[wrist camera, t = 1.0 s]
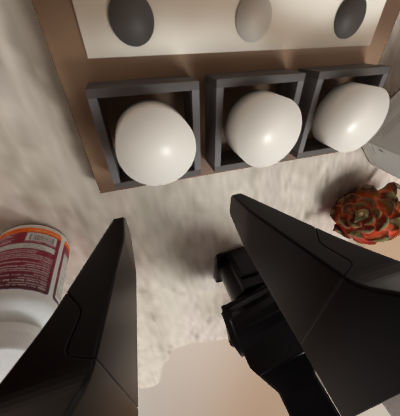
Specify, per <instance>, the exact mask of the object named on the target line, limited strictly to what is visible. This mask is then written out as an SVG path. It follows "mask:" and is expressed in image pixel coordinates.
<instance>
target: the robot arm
mask: <svg viewBox="0 0 400 416" xmlns="http://www.w3.org/2000/svg"><path fill="white" fill-rule="evenodd" d="M230 214H231V217H232V220H233V222H234V224H235V227H236V229H237V231H238V234H239V236H240V238H241V241H242V243H243V245H244V247H245V248H242V249H238V250H234V251H230V252H227V253H223V254H219V255H217V256H216V266H215V281H216V282H217V283H218V282H222V281H223V283H224V285H225V287H226V289H227V292H228V294H229V296H230V298H231V301H232V302H230V303H228V304H226V305H223V306H221V307H222V311H223V312H222V313H221V314H222V316H223V319H224V321H225V324H226V328H227V334H228V339H229V343H230V345H231V346H232V347H235V348H236V350H237V351H238V352H239V354H240V355H241V356H242V357H243V356H245V358H246V360H247V362H248V364H249V366H250V368H251V369H252V370H253V371H254V372H255V373H256V374H257V375H259V376H260V377H261V378H262V379H263V380H264V381H266V382H267V383H268V384H269V385H270V386H271V387H272V388H274V389H275V390H276V391H277V392H278V393H279V394H280V396H281V398H282V401H283V403H284V405H285V407H286V409H287V411H288V413H289V415H290V416H340V414H341V416H356V415H358V414H360V413H362V412H364V411H366V410H368V409H370V408H372V407H374V406H376V405H378V404H380V403H382V404H383V405H384V406H385V408H386V409H387V411H388V412H389V413H390V415H391V416H400V261H397V260H394V259H392V258H389V257H386V256H384V255H381V254H379V253H376V252H373V251H371V250H368V249H366V248H363V247H360V246H358V245H355V244H353V243H350V242H348V241H345V240H343V239H340V238H338V237H336V236H333V235H331V234H329V233H326V232H324V231H322V230H320V229H318V228H316V229H315V227H313V226H311V225H309V224H307V223H304V222H302V221H300V220H298V219H296V218H293V217H291V216H289V215H287V214H285V213H283V212H280V211H278V210H276V209H274V208H272V207H269V206H267V205H265V204H263V203H261V202H258V201H256V200H254V199H252V198H250V197H248V196H245V195H243V194H236V195H232V196H231V203H230ZM67 293H68V294H65V296H64V297H63V299H62V301H61V302H60V304H59V305H58V307H57V308H56V310H55V311H54V313H53V314H52V316H51V317H50V318H49V320H48V321H47V323H46V324H45V325H44V327H43V328H42V329H41V331H40V332H39V334H38V335H37V336H36V338H35V339H34V340H33V342H32V343H31V344H30V345H29V347H28V348H27V349H26V351H25V352H24V353H23V354H22V356H21V357H20V358H19V360H18V361H17V362H16V364H15V365H14V366H13V367H12V369H11V370H10V371H9V373H8V374H7V375H6V376H5V378H4V379H3V380H2V382H1V383H0V416H138V408H137V407H138V380H137V303H136V268H135V261H134V254H133V247H132V241H131V235H130V231H129V228H128V225H127V221H126V219H125V218H124V217H122V218H117V219H114V220H113V221H112V223H111V224H110V226H109V227H108V229H107V231H106V232H105V234H104V235H103V237H102V238H101V240H100V241H99V243H98V245H97V246H96V248H95V249H94V251H93V252H92V254H91V256H90V257H89V259H88V260H87V262H86V263H85V265H84V266H83V268H82V270H81V271H80V273H79V274H78V276H77V277H76V279H75V280H74V282H73V284H72V285H71V287H70V288H69V290H68V291H67ZM315 371H316V373H317V374H318V376H319V378H320V380H321V381H322V383H323V385H324V387H325V388H326V390H327V392H328V394H329V395H330V397H331V398H332V401H333V402H334V404H335V406H336V407H337V409H338V411H339V413H340V414H339V413H338V411H337V409H336V408H335V406H334V404H333V403H332V401H331V399H330V398H329V396H328V394H327V393H326V391H325V389H324V387H323V386H322V384H321V382H320V381H319V379H318V377H317V376H316V374H315Z"/></svg>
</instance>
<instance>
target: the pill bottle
mask: <svg viewBox="0 0 400 416" xmlns="http://www.w3.org/2000/svg"><path fill="white" fill-rule="evenodd" d="M69 252H70V246H69V243H68V241H67V239H66V238H65V236H64V235H62V234H61V233H60V232H59V231H57V230H55V229H53V228H50V227H47V226H42V225H21V226H17V227H14V228H11V229H9V230H7V231H5V232H4V233H3V234H2V235H1V236H0V383H1V382H2V380H3V379H4V378H5V376H6V375H7V374H8V373H9V371H10V370H11V369H12V367H13V366H14V365H15V364H16V362H17V361H18V360H19V358H20V357H21V356H22V354H23V353H24V352H25V351H26V349H27V348H28V347H29V345H30V344H31V343H32V342H33V340H34V339H35V338H36V336H37V335H38V334H39V332H40V331H41V329H42V328H43V327H44V325H45V324H46V323H47V321H48V320H49V318H50V317H51V316H52V314H53V313H54V311H55V310H56V308H57V307H58V305H59V304H60V300H61V295H62V290H63V285H64V279H65V274H66V269H67V263H68V258H69Z"/></svg>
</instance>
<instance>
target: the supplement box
mask: <svg viewBox="0 0 400 416" xmlns="http://www.w3.org/2000/svg"><path fill="white" fill-rule="evenodd" d="M361 147H362V148H363V150H364V152H365V154H366V156H367V157H368V159H369V162H370V164H372V165H374V166H376V167H378V168H380V169H382V170H383V171H385V172H387V173H389V174H391V175H393V176H395V177H397V178H399V179H400V90H399V91H398V92H397V93H396V94H395V95H394V96H393V97H392V98H391V99H390V103H389V109H388V113H387V115H386V118H385V120H384V122H383V124H382V125H381V127H380V128H379V130H378V131H377V132H376V134H375V135H374V136H373V137H372V138H371V139H370V140H369V141H368V142H367V143H366V144H364V145H363V146H361Z"/></svg>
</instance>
